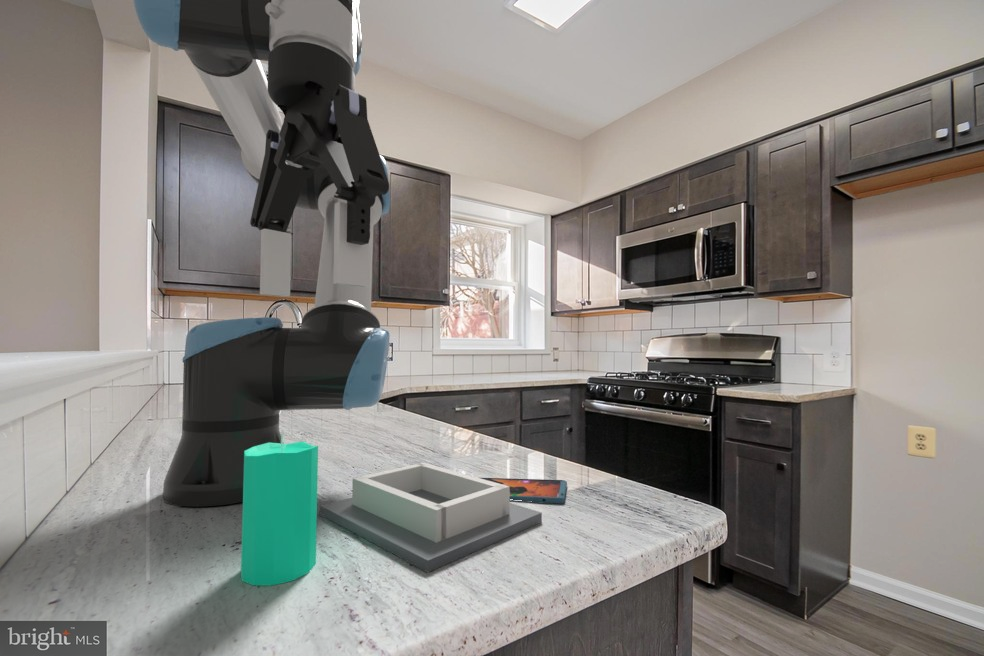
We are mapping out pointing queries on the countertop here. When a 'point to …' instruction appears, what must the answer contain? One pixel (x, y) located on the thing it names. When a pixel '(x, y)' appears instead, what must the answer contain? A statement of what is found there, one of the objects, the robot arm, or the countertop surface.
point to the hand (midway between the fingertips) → (309, 291)
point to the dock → (429, 513)
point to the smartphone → (534, 489)
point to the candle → (279, 512)
